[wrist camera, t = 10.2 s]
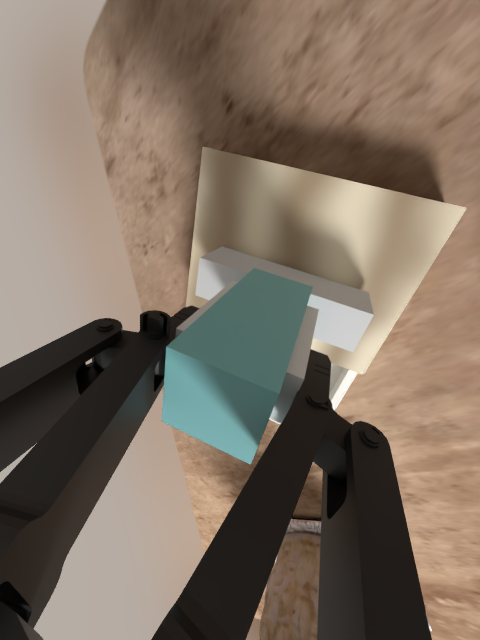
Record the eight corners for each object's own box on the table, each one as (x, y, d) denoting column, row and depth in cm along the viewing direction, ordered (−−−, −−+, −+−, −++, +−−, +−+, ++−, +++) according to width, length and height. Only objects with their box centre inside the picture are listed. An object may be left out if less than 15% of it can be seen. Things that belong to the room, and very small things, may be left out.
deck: (444, 204, 19) (466, 208, 15) (360, 350, 26) (363, 374, 23) (223, 152, 22) (202, 146, 19) (203, 294, 30) (185, 307, 26)
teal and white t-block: (371, 286, 19) (418, 452, 7) (349, 330, 21) (355, 516, 9) (223, 240, 21) (72, 307, 9) (216, 284, 23) (85, 383, 11)
